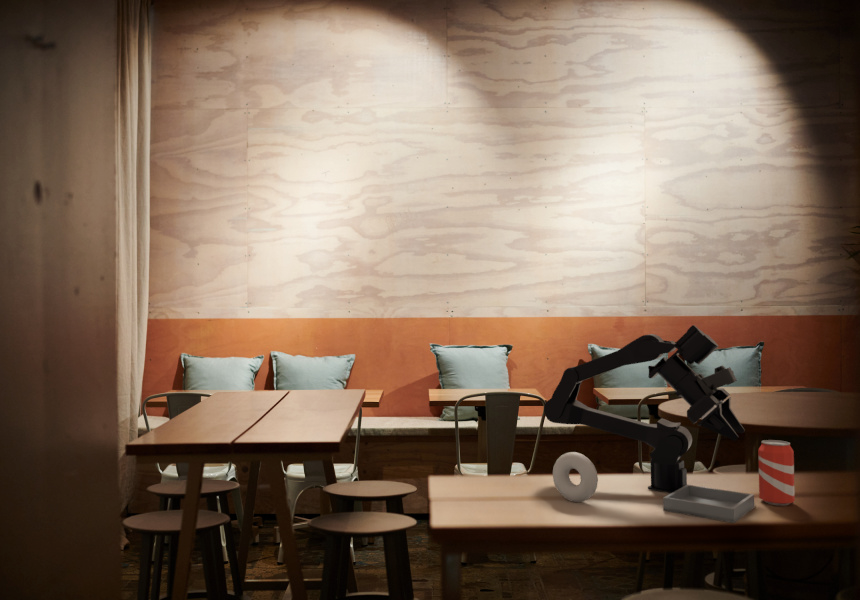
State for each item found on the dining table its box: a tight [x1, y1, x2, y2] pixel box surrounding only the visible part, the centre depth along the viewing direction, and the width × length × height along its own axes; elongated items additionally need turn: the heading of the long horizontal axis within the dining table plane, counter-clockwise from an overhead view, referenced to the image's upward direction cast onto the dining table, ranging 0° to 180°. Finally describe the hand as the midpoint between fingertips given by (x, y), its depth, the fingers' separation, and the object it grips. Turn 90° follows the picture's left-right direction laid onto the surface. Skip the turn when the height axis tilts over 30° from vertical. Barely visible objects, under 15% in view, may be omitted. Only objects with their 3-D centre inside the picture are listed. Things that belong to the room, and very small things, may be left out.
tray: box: [662, 484, 755, 524], centre depth 134 cm, size 13×13×2 cm
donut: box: [552, 451, 599, 503], centre depth 140 cm, size 10×4×10 cm, turn 47°
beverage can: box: [757, 439, 796, 507], centre depth 138 cm, size 6×6×12 cm
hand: (740, 435), depth 142 cm, fingers open, 9 cm apart
